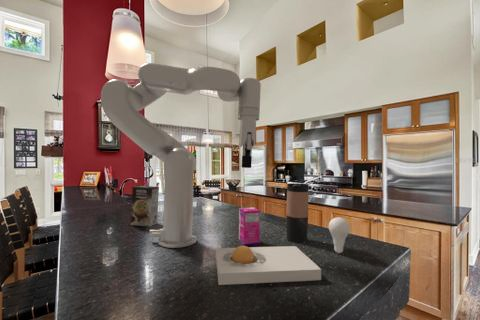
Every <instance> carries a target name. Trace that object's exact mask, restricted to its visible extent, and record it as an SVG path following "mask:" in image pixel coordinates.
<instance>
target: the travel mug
mask: <svg viewBox="0 0 480 320" xmlns="http://www.w3.org/2000/svg"><path fill="white" fill-rule="evenodd" d="M286 186H287V187H286V188H287V189H286V191H287V192H286V217H285V218H286V223H285V224H286V239H287V241H288V242H289V241H290V242H292V243H299V244H300V243H306V242H307V241H308V227H309V222H308V221H309V184H306V183H298V182H297V183H295V182H293V183H292V182H291V183H287V185H286Z"/></svg>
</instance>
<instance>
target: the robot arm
mask: <svg viewBox="0 0 480 320" xmlns="http://www.w3.org/2000/svg"><path fill="white" fill-rule="evenodd" d="M137 73H138V74H137V75H138V76H137V77H138V80H139V82H140V83H137V84H136V85H135V86H132V85H131V84H129V83H128V82H126V81H124V80H122V79H111V80H108V81H106V83H104V85H103V86H102V89H101V91H100V92H101V93H100V103H101V107H102V110H103V113H104V114H105V116H106V117H107V119H108V120H109V121H110V122H111V123H112V125H114V127H116V128H117V129H118V130H119V131H120V132H122V133H123V134H124V135H125V136H127V138H129V139H130V140H131V141H132V142H134V143H135V144H136V145H137V146H139V148H141V149H142V150H143V151H144V152H145V153H147V154H148V155H151V156H153V157H154V156H155V157H156V158H157V159H159V161H160V162H162V163H163V179H164V182H163V183H164V184H163V185H164V189H163V191H164V193H163V196H164V197H163V198H164V199H163V217H162V219H163V221H162V222H163V223H162V228H159V229H149V233H148V234H149V236H151V238H157V237H158V239H157V244H158V245H159V246H161V247H163V248H171V249H174V248H175V249H177V248H178V249H180V248H186V247H189V246H193V245H194V244H195V243H197V236H196V235H194V234H193V216H194V212H193V211H194V178H195V177H194V175H195V173H194V171H195V169H196V165H197V158H196V156H195V155H194V153H193V152H192V151H190V149H188V148H187V147H185V146H184V145H183V144H181V143H180V141H178V140H177V139H175V138H174V137H173V135H171V134H169V133H168V132H167V131H165V130H164V129H161V128H159V127H158V126H157V125H155V124H154V123H152V122H151V121H150V120H149V119H147V118H146V117H145V116H144V115H143V114H141V113H140V111H142V110H143V109H145V108H146V107H147V106H149V105H151V104H153V103H154V102H156V101H157V100H159V99H160V98H161V97H163V96H164V95H165V94H166V93H173V94H179V95H190V94H191V93H192V94H193V92H197V91H213V92H216V94H217V96H218V98H219V99H220V101H221V100H222V101H223V102H228V103H229V102H230V103H231V102H238V105H237V107H238V109H237V120H239V121H240V123H239V134H238V138H239V139H238V148H242V156H241V168H245V169H251V168H252V159H253V157H252V153H253V152H252V151H253V150H252V149H253V147H255V144H256V136H257V135H256V133H257V122H258V121H260V111H261V110H260V107H261V87H262V86H261V81H260V80H259V79H258V78H254V77H246V78H243V79H240V76H239V75H238V73H236V72H235V71H233V70H231V69H227V68H221V67H216V66H201V67H200V66H199V67H198V66H197V67H192V68H191V67H190V68H185V67H184V68H183V67H178V66H172V65H167V64H160V63H154V62H147V63H146V62H145V63H144V64H142V65H141V66H140V67H139V68H138V72H137Z"/></svg>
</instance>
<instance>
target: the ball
mask: <svg viewBox="0 0 480 320" xmlns="http://www.w3.org/2000/svg"><path fill="white" fill-rule="evenodd" d="M235 248H236V249H235V250H234V252H233V255H232V259H233V261H234V262H235V263H240V264H251V263H252V262H253V259H254V256H253V252H252V250H251V249H250V248H249V247H248V245H245V246H244V245H239V246H237V247H235Z"/></svg>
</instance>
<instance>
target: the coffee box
mask: <svg viewBox="0 0 480 320" xmlns="http://www.w3.org/2000/svg"><path fill="white" fill-rule="evenodd" d="M131 190H132V193H131V211H130V212H131V213H130V215H131V217H130V220H131V221H130V225H131V226H141V227H142V226H143V227H152V226H154V225H156V224H158V215H159V214H158V213H159V193H160V192H159V191H160V186H152V185H151V186H149V185H136V186H135V185H134V186H132V188H131Z"/></svg>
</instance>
